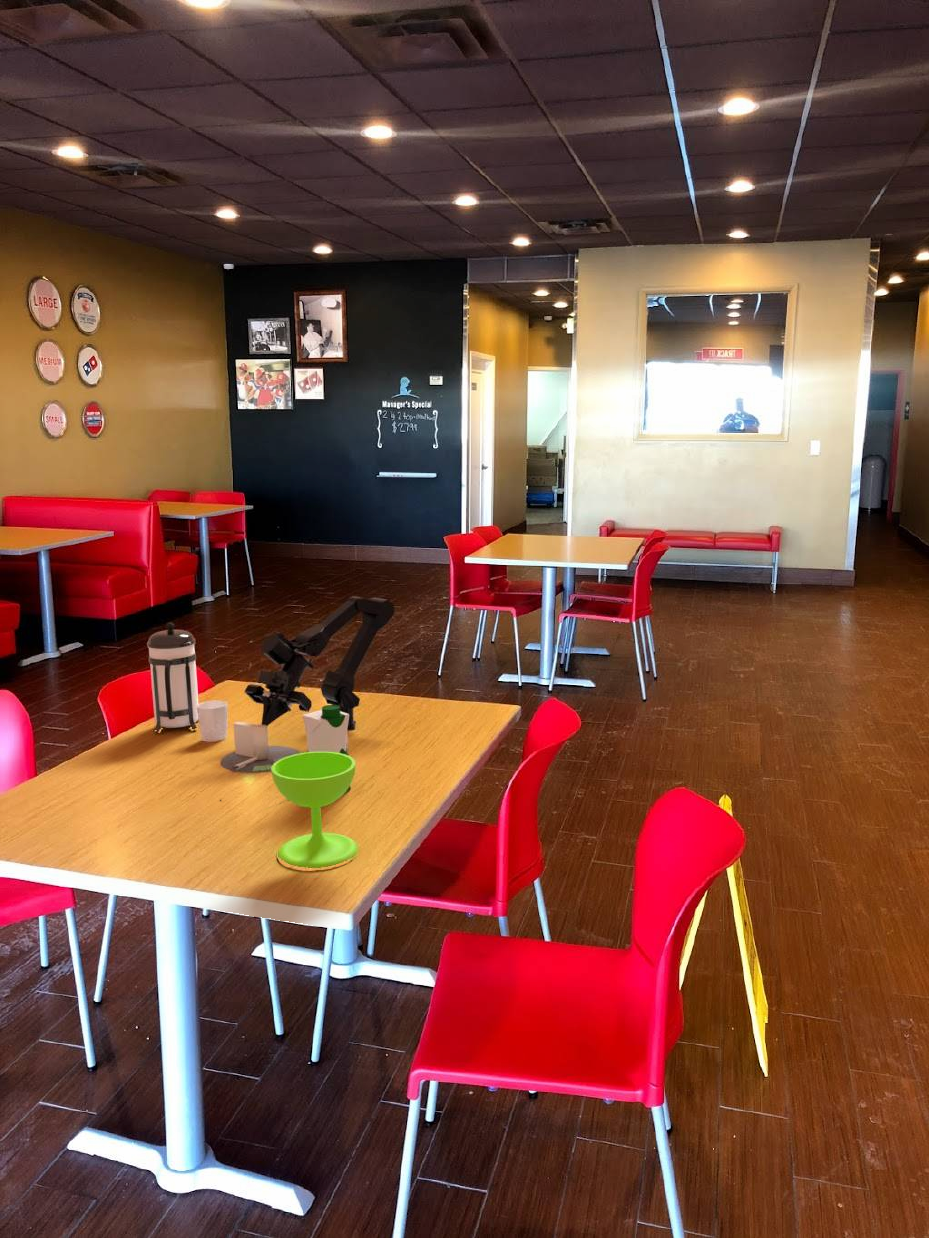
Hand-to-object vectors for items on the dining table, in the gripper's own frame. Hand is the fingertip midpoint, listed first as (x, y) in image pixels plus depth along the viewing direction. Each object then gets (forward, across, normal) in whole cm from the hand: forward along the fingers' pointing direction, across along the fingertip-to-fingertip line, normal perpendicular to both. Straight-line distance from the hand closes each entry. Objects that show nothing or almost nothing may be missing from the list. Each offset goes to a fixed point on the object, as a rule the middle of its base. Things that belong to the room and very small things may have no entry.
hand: (263, 726), depth 244 cm
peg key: (+11, +1, -2) cm, 11 cm away
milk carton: (+14, +31, -4) cm, 34 cm away
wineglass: (+34, +50, -23) cm, 65 cm away
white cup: (+4, -19, +6) cm, 21 cm away
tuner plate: (+9, +4, +1) cm, 10 cm away
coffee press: (+2, -36, +8) cm, 37 cm away
